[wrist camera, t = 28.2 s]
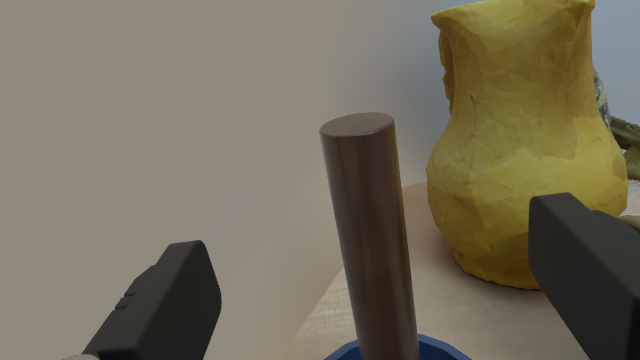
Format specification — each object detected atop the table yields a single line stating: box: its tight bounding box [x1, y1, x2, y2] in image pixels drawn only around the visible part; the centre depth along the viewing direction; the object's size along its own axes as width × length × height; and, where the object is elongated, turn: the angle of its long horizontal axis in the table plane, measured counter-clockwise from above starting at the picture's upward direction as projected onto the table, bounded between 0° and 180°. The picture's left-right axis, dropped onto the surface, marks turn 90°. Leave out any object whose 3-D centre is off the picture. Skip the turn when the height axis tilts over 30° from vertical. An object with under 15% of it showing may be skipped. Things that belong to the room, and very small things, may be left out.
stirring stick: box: [319, 113, 420, 360], centre depth 21 cm, size 3×3×22 cm
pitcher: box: [426, 0, 629, 290], centre depth 39 cm, size 17×19×25 cm
